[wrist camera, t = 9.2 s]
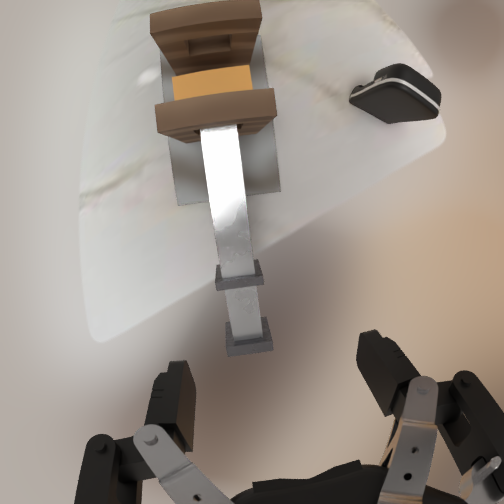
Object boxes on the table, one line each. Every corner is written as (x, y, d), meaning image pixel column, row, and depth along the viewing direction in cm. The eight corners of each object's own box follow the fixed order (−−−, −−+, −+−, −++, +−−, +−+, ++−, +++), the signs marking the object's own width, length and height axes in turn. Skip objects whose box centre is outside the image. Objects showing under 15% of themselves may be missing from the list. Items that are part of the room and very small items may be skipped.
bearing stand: (161, 51, 26) (125, -5, 12) (259, 38, 26) (279, -26, 13) (179, 204, 32) (146, 236, 19) (278, 190, 33) (315, 212, 19)
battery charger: (395, 103, 30) (450, 91, 19) (389, 125, 31) (444, 120, 20) (353, 78, 29) (401, 53, 18) (346, 102, 30) (394, 83, 19)
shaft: (194, 127, 23) (187, 120, 18) (243, 120, 23) (246, 112, 19) (227, 331, 29) (227, 356, 25) (267, 325, 30) (273, 350, 25)
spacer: (183, 94, 27) (171, 77, 20) (244, 84, 27) (249, 64, 21) (187, 125, 28) (176, 116, 22) (249, 116, 29) (255, 104, 22)
